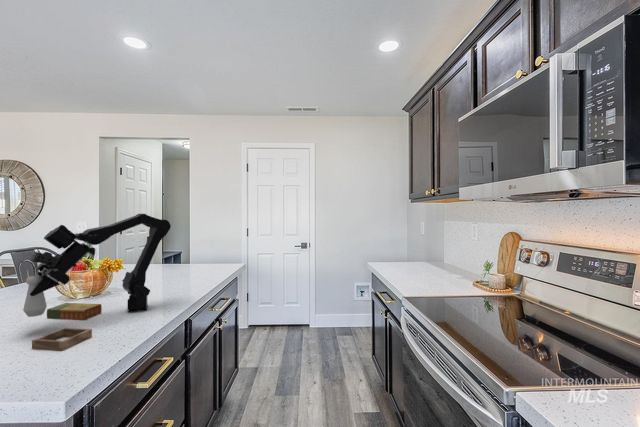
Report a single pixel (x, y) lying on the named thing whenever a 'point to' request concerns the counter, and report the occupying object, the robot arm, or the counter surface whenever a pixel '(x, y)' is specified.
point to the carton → (74, 311)
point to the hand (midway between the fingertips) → (29, 294)
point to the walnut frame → (51, 339)
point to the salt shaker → (34, 298)
